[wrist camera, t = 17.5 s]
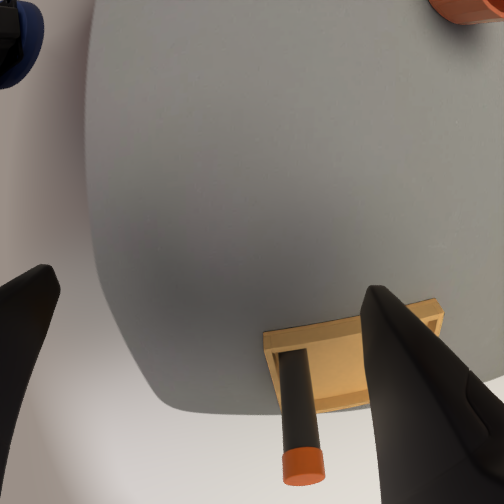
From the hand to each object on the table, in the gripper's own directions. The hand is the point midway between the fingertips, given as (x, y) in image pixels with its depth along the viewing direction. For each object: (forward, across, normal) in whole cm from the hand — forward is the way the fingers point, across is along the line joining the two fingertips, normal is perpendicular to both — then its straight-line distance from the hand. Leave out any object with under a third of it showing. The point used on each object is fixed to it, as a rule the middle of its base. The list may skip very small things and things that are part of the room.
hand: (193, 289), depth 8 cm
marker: (+11, -4, +16) cm, 20 cm away
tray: (+12, -10, +18) cm, 24 cm away
